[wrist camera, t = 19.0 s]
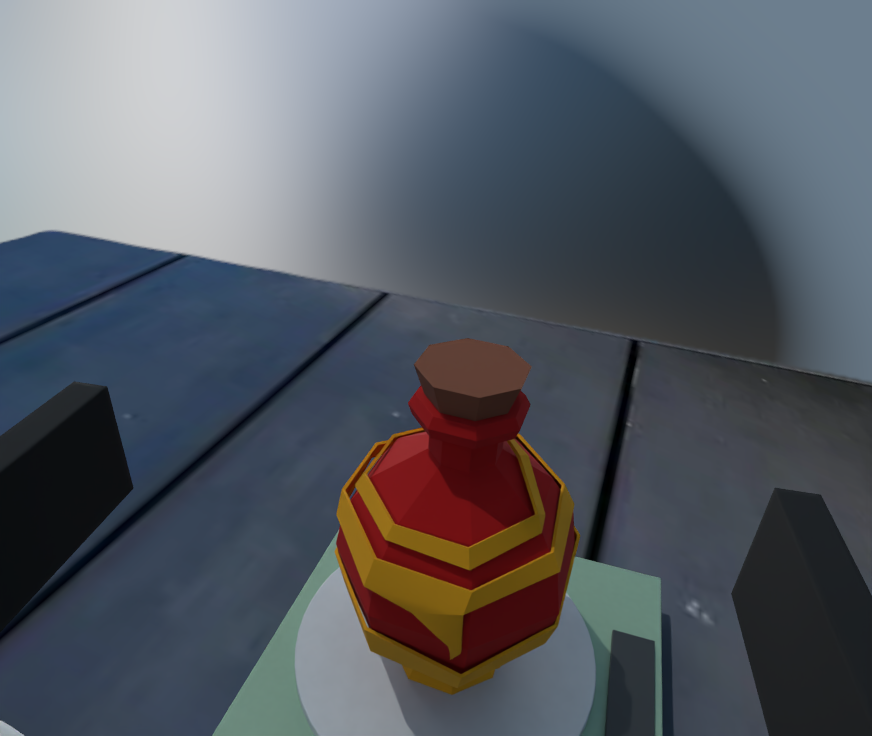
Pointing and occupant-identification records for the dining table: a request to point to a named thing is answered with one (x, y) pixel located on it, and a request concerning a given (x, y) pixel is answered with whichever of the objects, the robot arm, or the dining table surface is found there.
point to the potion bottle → (458, 526)
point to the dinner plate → (8, 730)
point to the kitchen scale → (475, 706)
